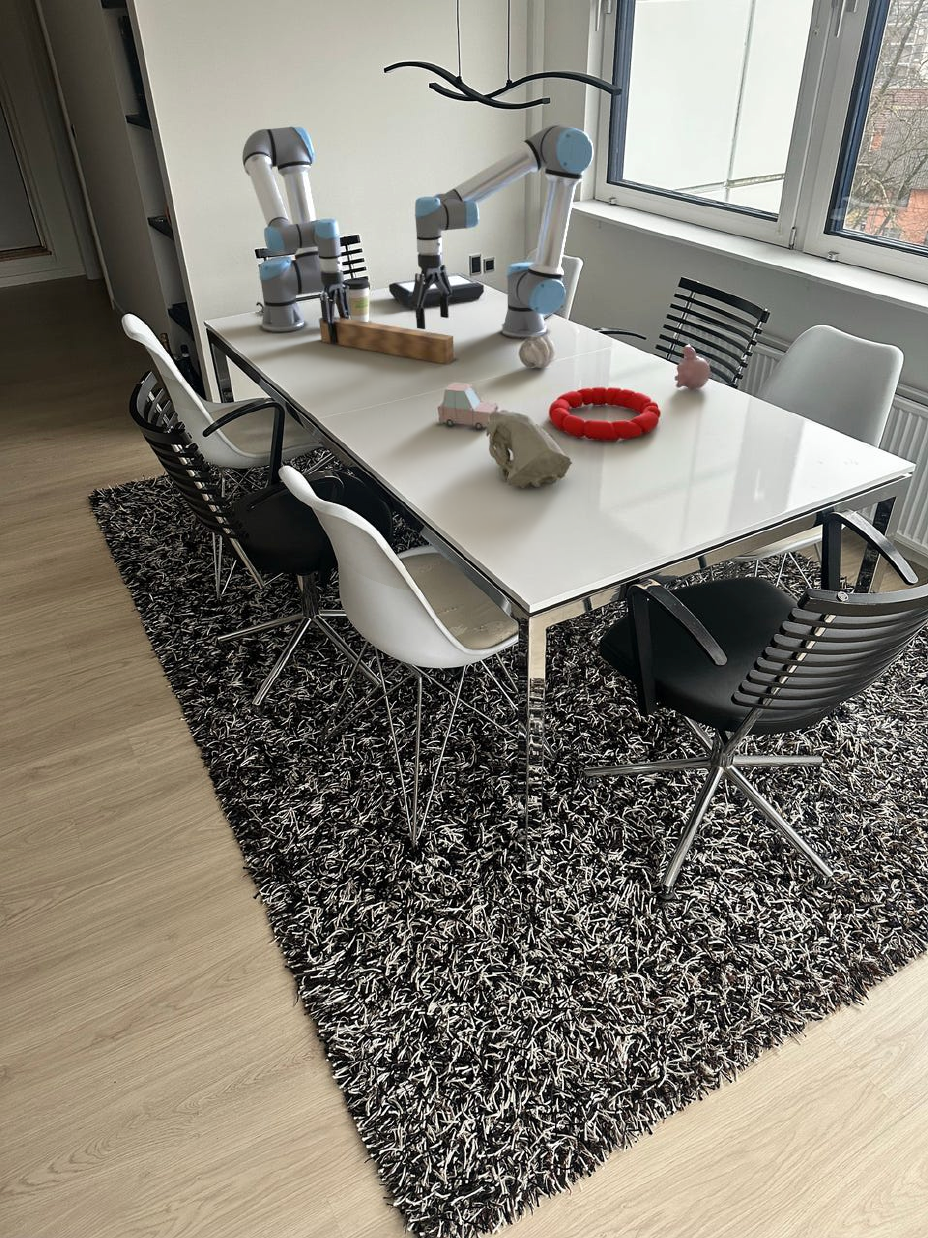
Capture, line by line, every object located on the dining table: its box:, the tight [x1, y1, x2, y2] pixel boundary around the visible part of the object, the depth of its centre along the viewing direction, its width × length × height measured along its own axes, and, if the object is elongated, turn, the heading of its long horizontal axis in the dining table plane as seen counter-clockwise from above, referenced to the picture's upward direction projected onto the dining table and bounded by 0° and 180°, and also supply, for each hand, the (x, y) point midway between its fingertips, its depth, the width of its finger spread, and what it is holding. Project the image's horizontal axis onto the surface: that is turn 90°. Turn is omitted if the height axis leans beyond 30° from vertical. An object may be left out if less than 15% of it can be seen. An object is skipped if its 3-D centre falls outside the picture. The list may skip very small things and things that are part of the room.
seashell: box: [518, 335, 556, 369], centre depth 279 cm, size 10×15×10 cm
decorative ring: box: [548, 386, 661, 442], centre depth 242 cm, size 7×30×30 cm
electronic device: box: [388, 273, 485, 310], centre depth 349 cm, size 32×6×20 cm
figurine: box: [674, 344, 711, 390], centre depth 259 cm, size 9×11×12 cm
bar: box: [318, 316, 455, 365], centre depth 298 cm, size 52×5×8 cm, turn 58°
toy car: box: [437, 382, 499, 431], centre depth 243 cm, size 9×15×10 cm, turn 70°
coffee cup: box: [342, 277, 371, 322], centre depth 323 cm, size 10×10×15 cm
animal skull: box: [485, 409, 573, 489], centre depth 216 cm, size 17×25×20 cm
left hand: (339, 340), depth 309 cm, fingers open, 5 cm apart
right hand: (433, 322), depth 285 cm, fingers open, 13 cm apart
